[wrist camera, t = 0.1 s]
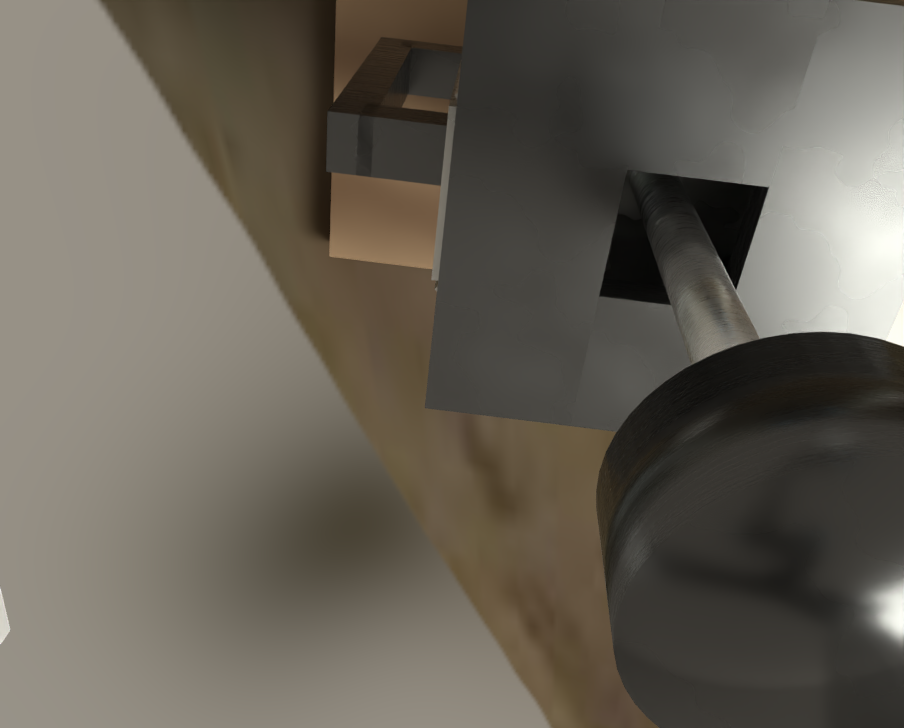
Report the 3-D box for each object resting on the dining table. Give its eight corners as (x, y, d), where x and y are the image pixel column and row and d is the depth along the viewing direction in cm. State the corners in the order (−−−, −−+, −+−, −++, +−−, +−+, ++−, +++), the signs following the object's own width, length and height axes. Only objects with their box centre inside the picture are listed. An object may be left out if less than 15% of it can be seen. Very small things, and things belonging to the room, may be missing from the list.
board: (346, -142, 31) (339, -142, 30) (972, -66, 31) (991, -63, 30) (335, 243, 40) (329, 256, 39) (827, 304, 40) (837, 318, 39)
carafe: (403, -115, 30) (291, -82, 15) (779, -69, 30) (1043, 11, 15) (386, 167, 36) (291, 398, 21) (702, 206, 36) (838, 465, 21)
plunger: (517, -29, 22) (521, 237, 7) (832, 9, 22) (1533, 361, 7) (479, 259, 26) (430, 804, 11) (740, 291, 26) (1041, 881, 11)
